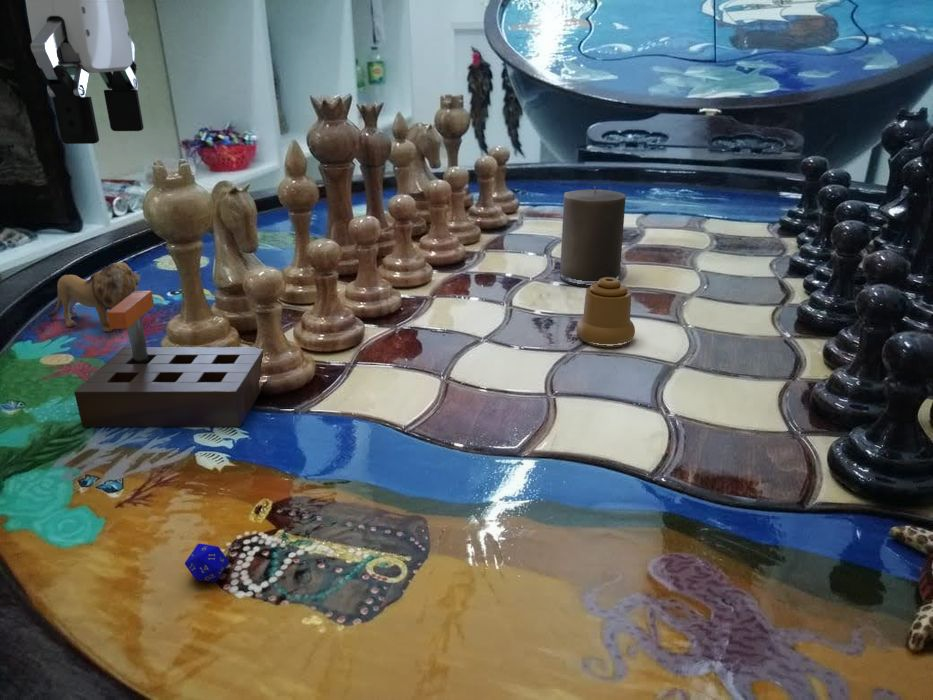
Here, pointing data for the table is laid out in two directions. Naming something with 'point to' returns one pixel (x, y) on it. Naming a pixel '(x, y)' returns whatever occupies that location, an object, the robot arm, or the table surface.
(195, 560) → the die
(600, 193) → the pillar candle
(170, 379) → the tool rack
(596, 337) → the ornamental finial
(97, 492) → the table surface
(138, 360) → the t handle
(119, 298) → the lion figurine
